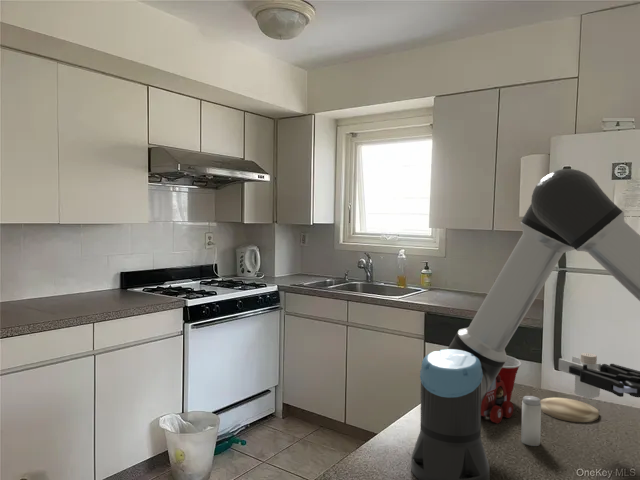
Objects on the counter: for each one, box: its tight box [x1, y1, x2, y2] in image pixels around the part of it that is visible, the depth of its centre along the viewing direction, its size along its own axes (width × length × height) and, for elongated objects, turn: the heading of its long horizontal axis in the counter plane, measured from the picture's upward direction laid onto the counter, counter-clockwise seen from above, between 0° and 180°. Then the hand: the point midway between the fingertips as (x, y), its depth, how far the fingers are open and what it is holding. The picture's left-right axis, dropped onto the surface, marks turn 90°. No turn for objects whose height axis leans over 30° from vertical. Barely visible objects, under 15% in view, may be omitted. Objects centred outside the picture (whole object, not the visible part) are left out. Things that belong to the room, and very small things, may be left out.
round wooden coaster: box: [540, 397, 600, 423], centre depth 126 cm, size 14×14×1 cm
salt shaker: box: [520, 395, 542, 447], centre depth 108 cm, size 4×4×10 cm
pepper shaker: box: [574, 352, 601, 400], centre depth 109 cm, size 4×4×10 cm
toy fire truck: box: [481, 375, 514, 424], centre depth 123 cm, size 7×12×10 cm, turn 130°
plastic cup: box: [498, 355, 522, 402], centre depth 133 cm, size 11×11×12 cm
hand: (566, 363), depth 113 cm, fingers closed on pepper shaker, 4 cm apart
